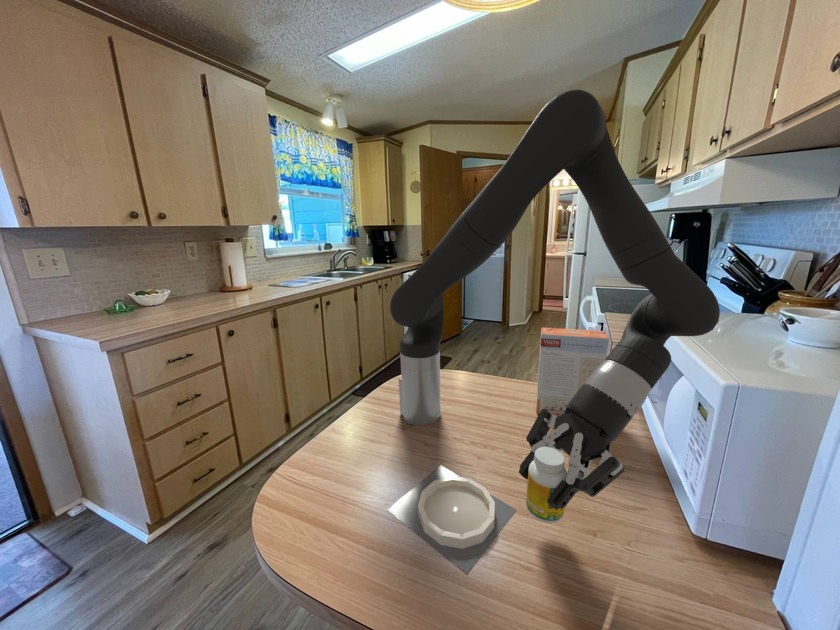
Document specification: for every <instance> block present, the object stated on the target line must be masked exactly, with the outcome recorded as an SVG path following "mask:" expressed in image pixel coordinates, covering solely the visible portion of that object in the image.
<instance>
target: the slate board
mask: <svg viewBox="0 0 840 630" xmlns="http://www.w3.org/2000/svg"><path fill="white" fill-rule="evenodd" d="M450 476H454V477H461V478H463V477H462V476H460V475H458V474H457V473H455V472H454V471H451V470H450V469H448V468H446V467H445V466H443V465H442V464H440V465H438V467H437V468H436V469H434V470H433V471H432V472H430V473H429V474H428V475H427V476H426V477H425V478H424V479H422V480H421V481H420V482H419V483H417V484H416V485H415V486H414V487H413V488H411V489H410V490H409V491H408V492H407V493H405V494H404V495H403V496H402V497H400V498H399V499H398V500H397V501H396V502H395V503H393V504H392V505H391V506H389V508H388V509H386V511H387V512H388V513H390V514H391V515H392V516H393V517H395V518H396V519H397V520H398V521H400V522H401V523H402V524H404V525H405V526H406V527H407V528H408V529H409V530H410V531H412V532H413V533H415V535H417V536H418V537H419V538H421V539H422V540H423V541H424V542H426V543H427V544H428V545H429V546H431V547H432V548H433V549H435V551H437V552H438V553H440V555H442V556H443V557H444V558H445V559H447V560H448V561H449V562H450V563H451V564H453V565H454V566H455V567H456V568H458V569H459V570H460V571H462V572H463V573H464V574H465V575H468V574H469V573H470V572H471V570H472V569H473V568H474V567H475V565H476V564H477V562H479V560H480V558H481V557H482V556H483V554H484V553H485V552H486V551H487V549H488V548H489V547H490V545H491V544H492V543H493V542H494V540H495V539H496V538H497V536H498V535H499V534H500V533H501V532H502V530H503V528H504V527H505V526H506V524H507V523H508V522H509V521H510V519H512V517H513V515H514V514H515V513H516V512H517V508H514V507H513V506H511V505H509V504H507V502H504V501H502V500H501V499H499V498H497V497H496V496H494V495H492V494H491V493H489V494H490V496H491V497H492V499H493V500H494V502H495V512H494V529H493V530H492V531H491V532H490V534H489V535H488V536H487V537H486V539H485V540H484V541H483V542H482V543H479V544H476V545H473V546H470V547H467V548H464V549H460V548H455V547H449V546H444V545H440V544H439V543H438V542H436V541H435V540H434V539H432V538H431V537H430V536H429V535H427V534H426V533H425V532H424V530H423V527H422V525H421V522H420V519H419V516H418V504H419V500H420V497H421V493H422V491H423V490H424V489H425V488H426V487H427V486H429V485H430V484H431V483H432V482H433V481H434V480H438V479H442V478H446V477H450Z"/></svg>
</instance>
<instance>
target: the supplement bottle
mask: <svg viewBox="0 0 840 630" xmlns="http://www.w3.org/2000/svg"><path fill="white" fill-rule="evenodd" d="M565 464H566V458H565V456H564V454H563V453H562V452H561V451H558V450H556V449H554V448H551V447H540V448H538V449H537V450H536V451H535V455H534V460H533V461H532V462H531V463H530V465H529V470H528V480H527V483H526V484H527V485H526V489H527V490H526V498H525V499H526V500H525V506H526V510H527V512H528V513H529V514H530V515H531V516H532V517H533V518H534V519H535V520H537V521H538V522H539V521H540V522H541V523H546V524H555V523H558V522H559V521H561V520H562V518H563V517H564V513H565V507H564V508H563V509H561V508H559V509H558V510H555V509H554V508H552V507H551V506H550V505H549V504H548V503H547V500H548V498H549V497H550V496H551V494H552V493H553V492H554V490H555V489H556V488H557V487H558V485H559V484H560V483H561V481H562V480H563V481H566V477H567V473H568V470H566V468H565Z"/></svg>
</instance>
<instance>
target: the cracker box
mask: <svg viewBox="0 0 840 630" xmlns="http://www.w3.org/2000/svg"><path fill="white" fill-rule="evenodd" d="M609 340H610V339H609V336H608V335H607V334H606V332H605V331H603V330H592V329H591V330H589V329H571V328H557V327H556V328H555V327H543V326H542V327H541V328H540V342H539V359H538V374H537V390H536V410H535V411H536V412H535V413H536V415H539V413H540V411H541V410H542V409H547V410H548V411H549V412H550V413H552V414H554V415H557V416H558V415H560V414H562V413H563V412H565V410H566V408H567V404H568V403H569V402H570V400H571V399H572V398H573V396H574V395H575V394H576V393H577V391H578V390H579V389H580V388H581V386H582V385H583V384H584V383H585V381H586V380H587V379H588V377H589V376H590V375H591V374H592V372H593V371H594V370H595V369H596V368H597V367H598V366H599V365H600V364H601V363H602V362H603V361H604V360H605V359H606V357H607V356H608V349H609V342H610V341H609Z"/></svg>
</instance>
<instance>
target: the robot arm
mask: <svg viewBox="0 0 840 630" xmlns="http://www.w3.org/2000/svg"><path fill="white" fill-rule="evenodd" d="M606 118H607V117H606V114H605V112H604V109H603V108H602V105H601V104H600V103H599V101H598V100H597V98H596V97H595V96H594V95H593V94H592V93H590V92H589V91H586V90H583V89H572V90H571V89H570V90H567V91H564V92H561V93H559V94H558V95H556V96H555V97H552V98H551V100H549V101H548V102H547V103H546V104H545V105H544V106H543V107H542V108H541V110H540V111H539V113H537V115H536V117H534V120H533V122H532V123H531V124H530V125H529V127H528V128H527V130H526V132H525V133H524V134H523V136H522V138H521V139H520V141H519V143H518V144H517V145H516V147H515V148H514V150H513V151H512V153H511V154H510V156H508V158H507V160H505V162H504V164H503V165H502V166H501V168H500V169H499V170H498V171H497V172H496V173H495V175H494V176H493V177H492V178H491V179H490V180H489V181H488V182H487V183H486V184H485V186H484V187H483V188H482V189H481V190H480V192H479V193H478V194H477V196H476V197H475V198H474V199H473V200H472V201H471V203H470V204H469V205H468V206H467V207H466V208H465V209H464V210H463V211H462V213H461V214H460V215H459V216H458V218H457V219H456V220H455V221H454V222H453V224H452V225H451V227H450V228H449V229H448V231H447V232H446V233H445V235H444V236H443V237H442V238H441V240H440V241H439V242H438V243H437V245H436V246H435V247H434V248H433V250H432V251H431V252H430V254H429V255H428V256H427V257H426V259H425V260H424V261H423V262H422V264H421V265H420V266H419V267H418V268H417V269H416V270H415V271H414V272H413V273H412V274H411V275H410V276H409V277H408V278H407V279H406V280H405V281H404V282H403V283H402V284H401V285H400V286H399V287H397V289H395V291H394V293H393V294H392V296H391V299H390V304H389V306H390V307H389V310H390V315H391V316H392V319H393V321H395V322H396V324H398V325H399V326H403V327H405V328H406V327H407V329H406V332H405V333H404V334H403V336H402V337H401V339H400V341H399V355H400V358H399V359H400V374H401V376H400V377H401V378H399V379H398V392H399V394H398V395H399V412H400V413H399V414H400V415H401V416H402V418H403V420H404V421H405V422H406V423H407V424H409V425H412V426H415V425H416V426H417V425H419V426H425V425H431V424H433V423H435V422H437V420H439V418H441V354H440V353H441V351H440V349H441V348H440V347H441V342H442V341H443V340H442V339H443V337H444V335H443V334H444V316H445V315H444V314H445V311H444V310H445V305H444V298H443V294H444V293H445V292H447V291H448V290H449V289H450V288H452V287H453V286H454V285H456V284H457V283H459V282H460V281H461V280H463V279H464V278H466V277H467V276H469V275H470V274H471V273H472V272H474V271H476V270H477V269H478V268H479V267H481V266H482V265H483V264H484V263H485V262H486V261H488V260H489V259H490V258H491V257H492V256H493V254H495V252H496V251H497V250H499V249H500V247H502V245H503V244H504V243H505V242H506V240H507V239H508V238H509V236H511V234H512V233H513V232H514V230H515V229H516V228H517V226H518V224H519V222H520V220H521V219H522V218H523V215H524V214H525V212H526V211H527V210H528V207H529V205H530V204H531V203H532V201H533V200H534V199H535V198H536V197H537V195H538V194H539V193H541V191H542V190H543V189H544V188H545V187H546V186H547V185H548V184H550V183H551V182H552V180H553V179H555V177H557V176H558V175H559V174H560V173H561V172H562V171H563V170H564V171H565V172H566V173H567V174H568V175H569V177H570V178H571V179H572V181H574V183H575V184H576V186H577V188H578V189H579V191H580V192H581V194H582V196H583V197H584V199H585V201H586V203H587V204H588V207H589V209H590V211H591V214H592V217H593V219H594V221H595V223H596V226H597V229H598V231H599V233H600V236H601V238H602V240H603V242H604V244H605V246H606V248H607V251H609V254H610V255H611V257H612V258H613V261H614V263H615V264H616V266H617V268H618V269H619V271H620V274H621V275H622V276H623V278H624V279H625V280H626V282H628V283H629V284H631V285H636V286H641V287H644V288H645V289H647V290H648V291H649V292H650V294H649V295H647V296H645V297H644V298H643V299H642V300H641V301H639V302H638V304H637V305H636V307H634V309H633V310H632V313H631V315H630V316H629V319H628V321H627V323H626V325H625V328H624V330H623V333H622V335H621V339H620V340H619V341H618V342H617V344H615V346H613V349H612V350H611V351H610V353H608V354H607V357H606V359H605V360H604V361H603V362H602V363H601V364H600V365H599V366H598V367H597V368H596V369H595V370H594V371H593V372H592V374H591V375H590V376H589V377H588V379H587V380H586V381H585V383H584V384H583V385H582V386H581V388H580V389H579V390H578V391H577V393H576V394H575V395H574V396H573V398H572V399H571V400H570V402H569V403H568V404H567V408H566V410H565V412H563V413H562V414H560V415H558V416H557V415H554V414H552V413H550V412H549V411H548V410H547V409H542V410H541V411H540V413H539V414H537V417H536V419H535V421H534V423H533V425H532V426H531V428H530V430H529V432H528V434H527V436H526V438H525V439H526V441H527V442H528V443H529V447H530V448H531V449H530V452H529V453H528V455H526V457H525V458H524V460H522V462H521V463H520V465H519V470H518V473H519V474H520V476H522V477H523V478H524V479H525V480H527V481H528V470H529V465H530V463H531V462H532V461H533V460H534V455H535V451H536V450H537V449H538V448H540V447H551V448H554V449H556V450H558V451H560V452H561V451H562V452H563V453H565V454H567V455H568V456H569V459H568V470H567V477H566V481H563V480H562V481H561V483H560V484H559V485H558V487H557V488H556V489H555V490H554V492H553V493H552V494H551V496H550V497H549V498H548V500H547V503H548V504H549V505H550V506H551V507H552V508H554V509H555V510H558V509H559V508H561V509H563V508H564V509H565V508H566V506H567V505H568V504H569V502H570V501H571V500H572V498H573V497H574V496H575V495H576V493H578V492H581V493H583V494H587V495H588V496H590V497H592V498H594V497H595V496H597V495H598V494H599V493H600V492H602V491H603V490H604V489H605V488H607V486H608V485H610V484H612V482H614V481H615V480H616V479H617V478H618V477H619V476H620V475H622V474H623V473H624V472H625V470H626V469H625V466H624V465H623V464H622V463H621V461H619V460H618V459H617V458H616V457H614V456H613V455H612V453H610V447H611V444H612V443H614V441H616V439H618V437H619V436H620V435H621V434H622V432H623V431H624V430H625V429H626V427H627V426H628V424H629V423H630V422H631V421H632V419H633V418H634V416H636V414H638V413H639V411H640V409H641V407H642V406H643V405H644V403H645V401H646V400H647V397H648V396H649V394H650V392H651V391H652V389H654V387H655V386H656V385H657V383H658V381H660V379H661V378H662V376H663V375H665V372H666V371H667V370H668V368H669V367H670V365H671V362H672V355H671V353H670V350H669V349H668V348H666V347H665V344H666V342H667V341H668V340H669V339H670V338H671V337H698V336H703V335H706V334H708V333H710V332H712V331H713V330H714V329H715V328H716V326H717V325H718V323H719V320H720V315H721V309H720V303H719V301H718V299H717V297H716V296H715V293H714V291H712V289H711V288H710V287H709V286H708V284H707V283H706V282H705V281H704V280H703V279H701V277H700V276H698V274H696V273H695V271H693V270H692V269H691V268H690V267H689V265H687V264H686V263H685V262H684V261H682V259H680V258H679V257H678V256H677V255H676V254H675V252H674V250H673V248H672V246H671V245H670V243H669V241H668V239H667V238H666V236H665V234H664V232H663V230H662V229H661V227H660V226H659V224H658V223H657V221H656V219H655V218H654V216H653V215H652V213H651V212H650V210H649V209H648V206H646V204H645V202H644V201H643V199H641V197H640V195H639V194H638V192H637V190H636V189H635V188H634V186H633V185H632V184H631V181H630V179H629V178H628V176H627V175H626V173H625V170H624V169H623V167H622V165H621V163H620V160H619V158H618V156H617V153H616V152H615V149H614V145H613V142H612V140H611V136H610V133H609V131H608V125H607V119H606ZM551 428H554V430H552V431H550V429H551ZM549 431H550V432H549ZM600 458H601V459H600ZM596 459H600V460H599V464H598V466H597V467H596V468H595V469H594V470H593V471H591V472H590V469H591V463H592V461H593V460H596ZM589 472H590V473H589Z"/></svg>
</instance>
